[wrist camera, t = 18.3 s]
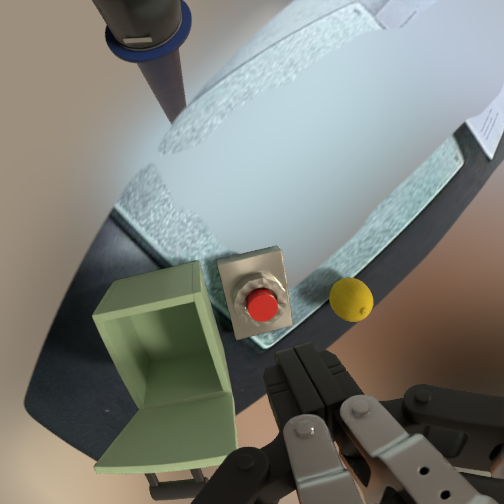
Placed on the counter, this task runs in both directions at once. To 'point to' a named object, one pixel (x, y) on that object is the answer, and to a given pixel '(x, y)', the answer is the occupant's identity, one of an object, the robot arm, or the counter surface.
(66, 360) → the counter surface
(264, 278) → the switch block
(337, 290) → the lemon
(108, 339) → the green lidded box
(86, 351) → the counter surface
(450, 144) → the counter surface
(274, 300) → the button
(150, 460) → the lid
